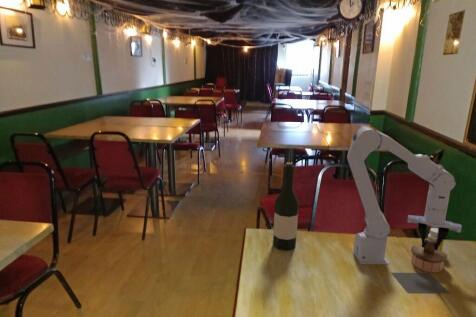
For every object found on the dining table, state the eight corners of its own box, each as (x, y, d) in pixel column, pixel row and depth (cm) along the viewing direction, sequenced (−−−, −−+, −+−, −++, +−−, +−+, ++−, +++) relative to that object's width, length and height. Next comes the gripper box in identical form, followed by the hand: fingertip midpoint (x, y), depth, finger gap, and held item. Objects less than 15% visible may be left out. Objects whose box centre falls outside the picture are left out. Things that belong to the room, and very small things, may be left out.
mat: (407, 294, 95) (407, 292, 95) (391, 273, 105) (391, 272, 105) (449, 294, 95) (450, 293, 95) (429, 273, 105) (429, 272, 105)
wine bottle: (270, 239, 125) (274, 160, 118) (292, 239, 126) (297, 160, 119) (275, 251, 117) (279, 166, 110) (299, 250, 118) (305, 166, 111)
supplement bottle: (437, 249, 120) (441, 227, 118) (443, 256, 116) (447, 233, 114) (423, 248, 121) (426, 226, 119) (429, 255, 116) (432, 233, 114)
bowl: (420, 273, 106) (422, 262, 105) (405, 257, 114) (407, 248, 113) (448, 273, 106) (450, 262, 105) (432, 257, 115) (433, 248, 114)
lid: (410, 256, 106) (412, 242, 106) (411, 245, 115) (413, 232, 115) (447, 265, 102) (450, 250, 101) (445, 253, 111) (447, 239, 110)
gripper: (409, 207, 105) (403, 247, 108) (465, 216, 99) (457, 259, 102) (410, 200, 111) (404, 238, 115) (463, 208, 105) (455, 249, 108)
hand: (429, 247), depth 109 cm, fingers closed on lid, 3 cm apart
